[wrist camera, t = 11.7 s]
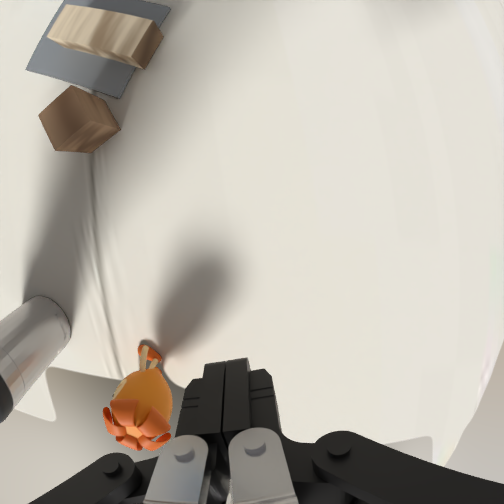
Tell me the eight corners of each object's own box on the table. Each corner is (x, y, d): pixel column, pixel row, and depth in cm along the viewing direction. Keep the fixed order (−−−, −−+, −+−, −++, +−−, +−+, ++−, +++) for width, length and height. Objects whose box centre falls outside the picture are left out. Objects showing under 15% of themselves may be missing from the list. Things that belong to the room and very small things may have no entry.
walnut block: (90, 153, 36) (55, 150, 27) (75, 123, 35) (38, 115, 26) (120, 129, 35) (89, 120, 26) (104, 100, 34) (71, 85, 25)
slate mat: (170, 9, 31) (169, 7, 31) (119, 98, 34) (118, 97, 34) (72, -9, 29) (70, -10, 28) (27, 70, 32) (25, 69, 31)
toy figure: (130, 326, 42) (90, 391, 27) (185, 332, 42) (163, 404, 27) (138, 391, 44) (111, 460, 30) (187, 397, 45) (173, 471, 30)
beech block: (154, 20, 27) (65, 4, 25) (132, 57, 28) (46, 36, 26) (163, 36, 32) (81, 17, 30) (144, 69, 33) (64, 47, 31)
